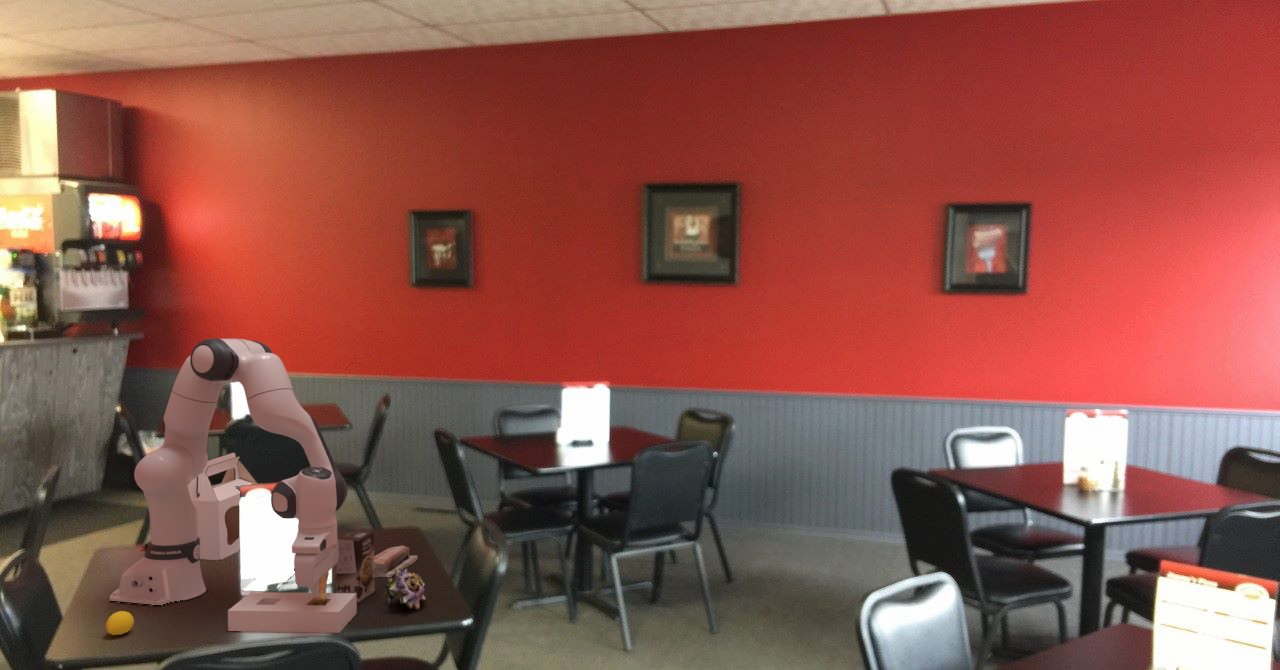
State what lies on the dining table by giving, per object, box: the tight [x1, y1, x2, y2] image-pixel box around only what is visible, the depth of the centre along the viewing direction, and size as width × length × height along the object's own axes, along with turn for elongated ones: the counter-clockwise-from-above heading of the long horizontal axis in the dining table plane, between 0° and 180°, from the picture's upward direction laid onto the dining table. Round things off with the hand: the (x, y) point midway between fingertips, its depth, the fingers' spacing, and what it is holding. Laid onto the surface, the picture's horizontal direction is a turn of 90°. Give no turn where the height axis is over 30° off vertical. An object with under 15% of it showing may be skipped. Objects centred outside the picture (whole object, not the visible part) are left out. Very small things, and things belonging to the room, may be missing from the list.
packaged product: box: [374, 545, 418, 579], centre depth 278 cm, size 18×5×10 cm
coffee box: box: [335, 530, 376, 603], centre depth 253 cm, size 9×6×16 cm
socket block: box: [227, 591, 358, 634], centre depth 235 cm, size 26×13×5 cm, turn 89°
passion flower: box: [382, 568, 427, 610], centre depth 246 cm, size 11×11×12 cm
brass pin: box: [313, 574, 327, 605], centre depth 234 cm, size 3×3×10 cm
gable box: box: [188, 452, 259, 561], centre depth 295 cm, size 22×13×28 cm, turn 170°
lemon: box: [105, 610, 135, 636], centre depth 227 cm, size 7×5×5 cm
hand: (318, 593), depth 234 cm, fingers closed on brass pin, 3 cm apart
